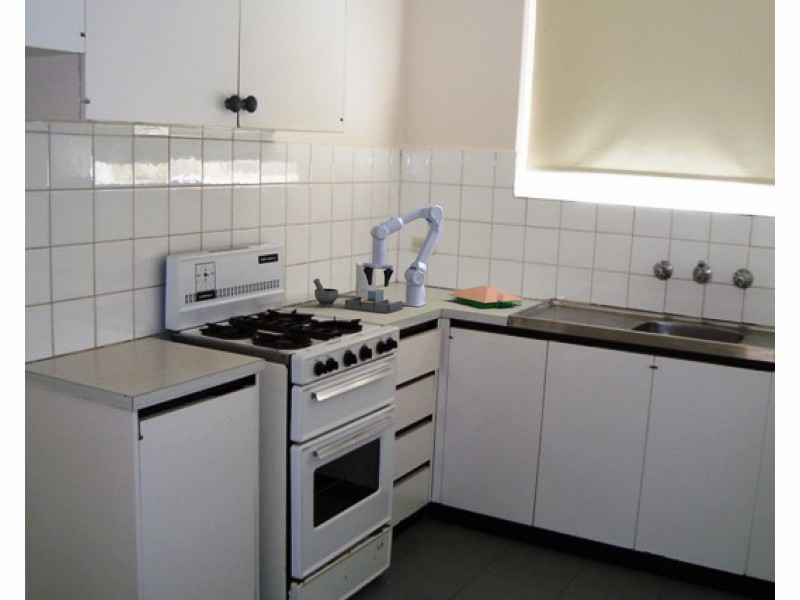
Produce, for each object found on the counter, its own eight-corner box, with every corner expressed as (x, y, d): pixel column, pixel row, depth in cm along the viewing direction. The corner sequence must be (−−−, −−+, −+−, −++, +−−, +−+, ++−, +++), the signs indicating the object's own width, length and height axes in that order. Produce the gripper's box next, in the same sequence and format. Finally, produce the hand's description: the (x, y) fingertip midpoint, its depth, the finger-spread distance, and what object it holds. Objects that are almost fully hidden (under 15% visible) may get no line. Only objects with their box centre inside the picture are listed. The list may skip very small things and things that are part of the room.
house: (489, 311, 357) (489, 292, 356) (440, 300, 384) (441, 282, 382) (528, 307, 371) (529, 289, 369) (478, 296, 397) (479, 279, 396)
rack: (358, 304, 361) (358, 295, 361) (402, 309, 352) (402, 300, 352) (344, 308, 351) (344, 298, 350) (389, 313, 342) (389, 304, 341)
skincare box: (372, 296, 386) (373, 262, 383) (376, 298, 379) (377, 264, 377) (354, 296, 383) (355, 262, 381) (358, 298, 377) (358, 264, 375)
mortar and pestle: (329, 303, 361) (330, 275, 359) (342, 307, 353) (342, 278, 352) (307, 305, 354) (307, 277, 352) (319, 309, 347) (319, 280, 345)
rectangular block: (375, 302, 368) (375, 288, 368) (383, 303, 367) (383, 289, 366) (367, 304, 362) (367, 290, 361) (375, 305, 361) (376, 291, 360)
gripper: (359, 253, 354) (358, 285, 356) (390, 255, 348) (389, 288, 350) (366, 252, 361) (366, 283, 363) (397, 254, 355) (396, 286, 357)
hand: (378, 285), depth 357 cm, fingers open, 7 cm apart
